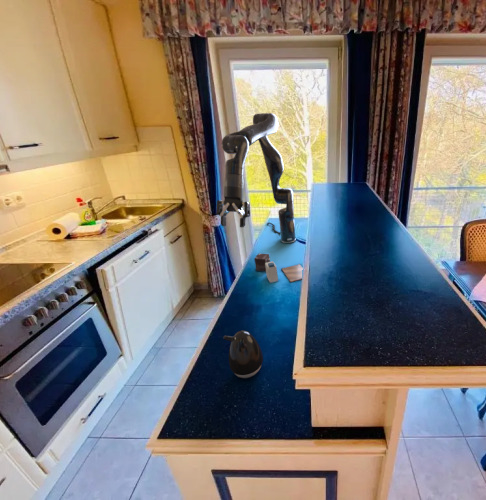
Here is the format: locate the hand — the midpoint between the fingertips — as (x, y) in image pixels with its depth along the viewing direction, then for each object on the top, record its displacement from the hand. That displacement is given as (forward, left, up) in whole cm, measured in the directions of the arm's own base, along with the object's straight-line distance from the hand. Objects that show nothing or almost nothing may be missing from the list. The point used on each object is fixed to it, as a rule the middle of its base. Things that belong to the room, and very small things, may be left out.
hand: (232, 226), depth 115 cm
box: (-16, +13, -32) cm, 38 cm away
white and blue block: (-4, +14, -31) cm, 35 cm away
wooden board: (-4, +26, -31) cm, 41 cm away
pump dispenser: (+45, -8, -32) cm, 56 cm away
